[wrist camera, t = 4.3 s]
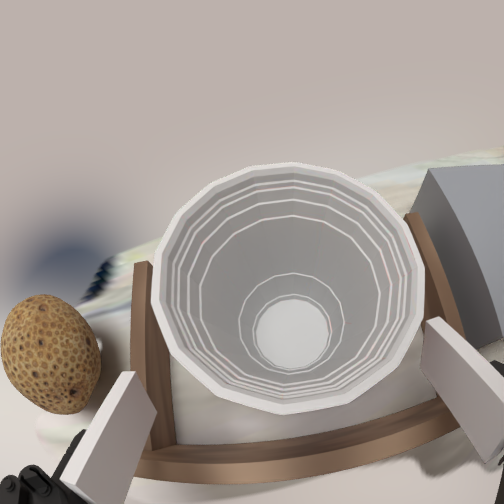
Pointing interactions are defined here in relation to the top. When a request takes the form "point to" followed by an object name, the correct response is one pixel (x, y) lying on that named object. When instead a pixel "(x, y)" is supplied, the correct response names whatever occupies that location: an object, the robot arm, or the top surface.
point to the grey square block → (469, 242)
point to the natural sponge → (50, 354)
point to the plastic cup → (288, 287)
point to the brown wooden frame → (286, 450)
